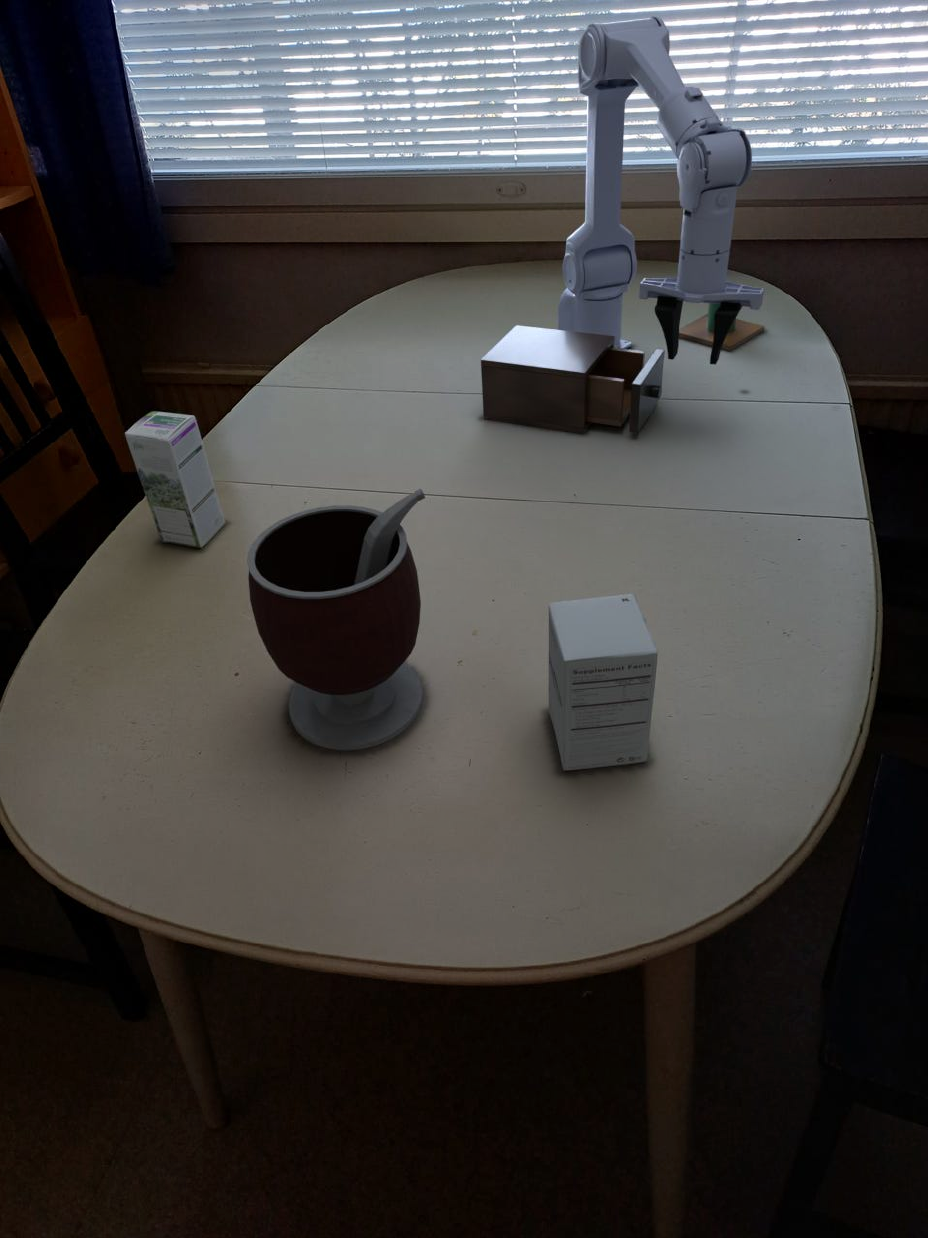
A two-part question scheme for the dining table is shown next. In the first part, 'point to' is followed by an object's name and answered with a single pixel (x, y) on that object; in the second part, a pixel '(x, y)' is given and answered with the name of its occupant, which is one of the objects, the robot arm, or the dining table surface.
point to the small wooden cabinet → (541, 377)
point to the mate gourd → (341, 620)
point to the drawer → (624, 387)
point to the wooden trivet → (733, 339)
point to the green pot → (710, 318)
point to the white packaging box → (601, 681)
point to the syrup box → (176, 478)
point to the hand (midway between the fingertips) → (693, 358)
